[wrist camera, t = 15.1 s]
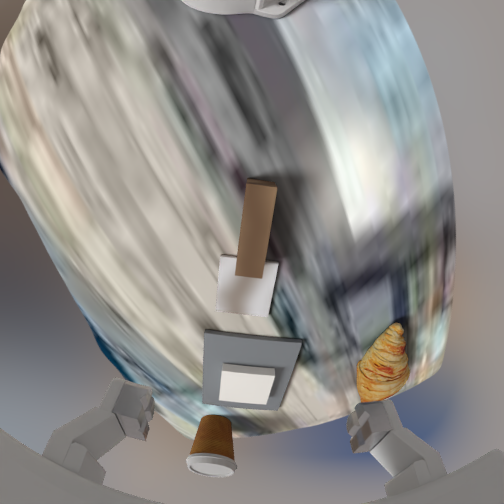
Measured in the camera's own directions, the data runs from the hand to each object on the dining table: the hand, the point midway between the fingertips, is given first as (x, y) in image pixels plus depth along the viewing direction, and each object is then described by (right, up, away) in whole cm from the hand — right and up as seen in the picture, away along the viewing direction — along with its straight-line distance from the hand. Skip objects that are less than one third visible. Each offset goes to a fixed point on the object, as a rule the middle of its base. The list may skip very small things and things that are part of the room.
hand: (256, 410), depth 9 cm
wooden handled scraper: (0, +6, +24) cm, 24 cm away
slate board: (-1, -14, +32) cm, 35 cm away
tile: (-1, -12, +29) cm, 31 cm away
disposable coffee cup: (-8, -29, +39) cm, 49 cm away
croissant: (+22, -14, +32) cm, 42 cm away
